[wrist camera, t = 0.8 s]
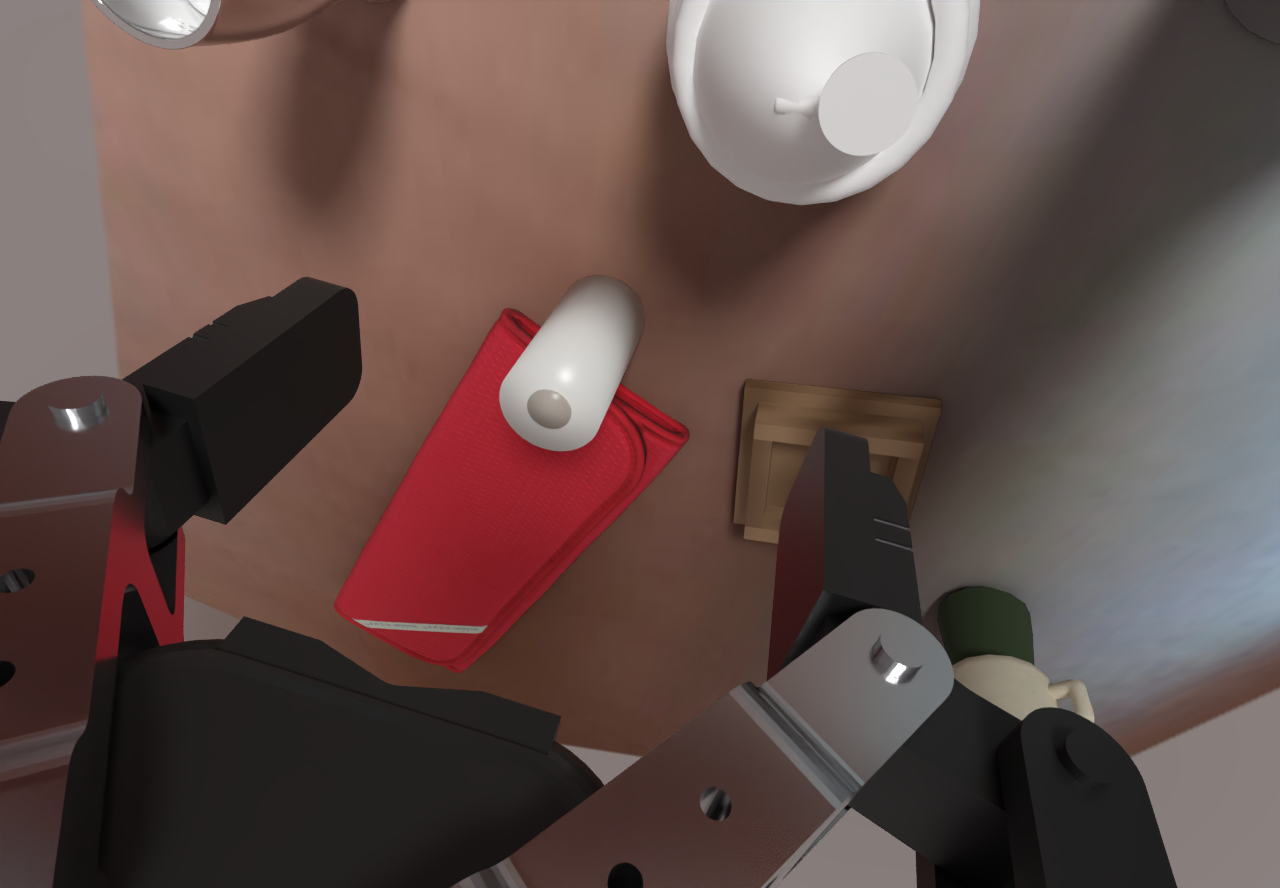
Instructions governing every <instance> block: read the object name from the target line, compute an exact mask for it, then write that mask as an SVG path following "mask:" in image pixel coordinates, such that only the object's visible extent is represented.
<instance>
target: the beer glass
mask: <svg viewBox="0 0 1280 888" xmlns="http://www.w3.org/2000/svg"><path fill="white" fill-rule="evenodd" d="M91 1H92V2H93V3H94V5H95V6H96V7H97V8H98V9H99V10H100V11H101V12H102V13H103V14H104V15H105V16H106V17H107V18H108V19H109V20H111V21H112V22H113V23H114V24H115V25H117V26H118V27H119V28H121V29H122V30H123V31H125V32H126V33H128V34H129V35H131V36H132V37H134V38H136V39H138V40H140V41H142V42H144V43H146V44H149V45H152V46H155V47H158V48H163V49H173V50H175V49H184V48H188V47H195V46H211V45H222V44H233V43H240V42H246V41H252V40H258V39H262V38H266V37H269V36H273V35H277V34H280V33H283V32H286V31H288V30H290V29H293V28H295V27H297V26H299V25H301V24H303V23H305V22H307V21H309V20H311V19H312V18H314V17H316V16H317V15H319V14H321V13H322V12H324V11H325V10H327V9H329V8H330V7H332V6H333V5H335V4H337V3H338V2H340V1H342V0H91ZM366 1H371V2H385V1H389V0H366Z"/></svg>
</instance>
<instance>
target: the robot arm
mask: <svg viewBox="0 0 1280 888" xmlns="http://www.w3.org/2000/svg"><path fill="white" fill-rule="evenodd" d="M1225 1H1226V3H1227V5H1228V7H1229V10H1230V12H1231V13H1232V15H1233V16H1234V17H1235V18H1236V19H1237V20H1238V21H1239V22H1240V23H1241V24H1242V25H1243V26H1244V27H1245V28H1246V29H1247V30H1249V31H1251V32H1253V33H1254V34H1256V35H1258V36H1260V37H1262V38H1264V39H1265V40H1269V41H1272V42H1275V43H1278V44H1280V0H1225ZM361 375H362V358H361V343H360V328H359V313H358V301H357V297H356V295H355V293H354V292H353V291H352V290H351V289H349V288H345V287H342V286H338V285H335V284H331V283H328V282H324V281H321V280H317V279H314V278H310V277H303V278H301V279H299V280H297V281H296V282H294V283H293V284H291V285H290V286H288V287H287V288H285V289H284V290H282V291H281V292H279V293H278V294H276V295H275V296H273V297H270V296H268V297H264V298H261V299H258V300H255V301H251V302H248V303H245V304H242V305H238V306H236V307H234V308H233V309H231V310H230V311H228V312H227V313H225V314H223V315H222V316H220V317H219V318H217V319H216V320H214V321H213V324H212V325H209V324H208V325H206V326H205V327H203V328H202V329H200V330H199V331H197V332H195V333H194V334H193V338H190V337H188V338H186V339H185V340H183V341H181V342H180V343H178V344H177V345H175V346H174V347H172V348H170V349H169V350H167V351H166V352H164V353H163V354H161V355H160V356H158V357H156V358H155V359H153V360H152V361H150V362H149V363H147V364H146V365H144V366H142V367H141V368H139V369H138V370H136V371H135V372H133V373H132V374H130V375H128V376H127V377H125V378H124V379H122V380H120V379H116V378H112V377H105V376H80V377H72V378H66V379H62V380H58V381H54V382H51V383H48V384H45V385H43V386H40V387H38V388H36V389H33V390H31V391H30V392H28V393H27V394H25V395H23V396H22V397H21V398H20V399H19V400H17V402H7V401H0V888H777V887H778V886H779V885H780V884H781V883H782V882H783V881H784V880H785V879H786V878H787V877H788V876H789V874H791V872H792V871H793V870H794V869H795V868H796V867H797V866H798V865H799V864H800V863H801V862H802V861H803V859H805V858H806V857H807V856H808V854H809V853H810V852H811V851H812V850H813V849H814V848H815V847H816V846H817V845H818V844H819V843H820V842H821V841H822V840H823V839H824V837H825V836H826V835H827V834H828V833H829V832H830V831H831V830H832V829H833V828H834V827H835V826H836V825H837V824H838V823H839V822H840V821H841V820H842V818H843V817H844V816H845V815H846V814H847V813H848V812H849V811H850V810H851V809H852V808H853V809H855V810H856V811H857V812H859V813H860V814H862V815H863V816H865V817H866V818H868V819H869V820H871V821H872V822H873V823H875V824H876V825H878V826H879V827H881V828H882V829H884V830H885V831H887V832H888V833H890V834H891V835H893V836H894V837H896V838H897V839H898V840H900V841H901V842H903V843H904V844H906V845H907V846H909V847H910V848H912V849H913V850H915V851H916V874H917V888H1177V885H1176V882H1175V879H1174V876H1173V873H1172V869H1171V866H1170V863H1169V860H1168V856H1167V853H1166V850H1165V847H1164V844H1163V840H1162V837H1161V834H1160V831H1159V827H1158V824H1157V821H1156V818H1155V815H1154V812H1153V808H1152V805H1151V802H1150V799H1149V795H1148V792H1147V789H1146V786H1145V783H1144V781H1143V778H1142V776H1141V774H1140V772H1139V770H1138V769H1137V767H1136V765H1135V764H1134V762H1133V761H1132V759H1131V758H1130V756H1129V755H1128V754H1127V753H1126V751H1125V750H1124V749H1123V748H1122V747H1121V746H1120V745H1119V744H1118V743H1117V742H1116V741H1115V740H1114V739H1113V738H1112V737H1111V736H1110V735H1109V734H1108V733H1106V732H1105V731H1104V730H1103V729H1102V728H1100V727H1099V726H1097V725H1096V724H1094V723H1093V722H1091V721H1090V720H1088V719H1086V718H1084V717H1082V716H1081V715H1078V714H1076V713H1074V712H1071V711H1068V710H1064V709H1061V708H1054V707H1044V708H1039V709H1036V710H1034V711H1032V712H1031V713H1029V714H1028V715H1027V716H1026V717H1025V718H1024V719H1023V720H1020V719H1018V718H1016V717H1015V716H1013V715H1011V714H1010V713H1008V712H1006V711H1004V710H1003V709H1001V708H999V707H998V706H996V705H994V704H993V703H991V702H989V701H987V700H986V699H984V698H982V697H981V696H979V695H977V694H976V693H974V692H973V691H971V690H969V689H968V688H966V687H965V686H964V685H962V684H961V683H960V682H959V681H957V680H956V679H955V678H954V673H953V668H952V664H951V661H950V659H949V657H948V655H947V653H946V651H945V650H944V648H943V647H942V645H941V644H940V643H939V642H938V640H937V639H936V638H935V637H934V636H933V635H932V634H931V633H930V632H929V631H928V630H927V629H925V628H924V627H923V624H922V617H921V609H920V602H919V594H918V587H917V579H916V572H915V564H914V557H913V552H911V549H912V542H911V534H910V532H909V531H908V530H909V519H908V512H907V504H906V501H905V500H904V498H903V497H902V495H901V493H900V492H899V490H898V489H897V487H896V485H895V484H894V482H893V481H892V479H891V478H890V477H887V476H883V475H880V474H876V473H873V472H871V469H870V456H869V444H868V440H867V439H866V438H863V437H859V436H856V435H852V434H849V433H845V432H842V431H838V430H835V429H831V428H828V427H825V426H822V427H820V428H819V430H818V431H817V433H816V435H815V437H814V439H813V442H812V444H811V446H810V448H809V450H808V453H807V455H806V457H805V459H804V462H803V464H802V466H801V468H800V471H799V473H798V475H797V477H796V480H795V482H794V484H793V486H792V488H791V491H790V493H789V495H788V498H787V501H786V504H785V507H784V510H783V514H782V518H781V523H780V529H779V539H778V551H777V563H776V576H775V588H774V600H773V612H772V624H771V636H770V648H769V660H768V672H767V682H765V683H764V684H763V685H761V686H759V687H757V688H756V687H755V685H754V684H753V683H751V682H746V683H743V684H741V685H739V686H738V687H736V688H734V689H733V690H732V691H730V692H729V693H727V694H726V695H725V696H723V697H722V698H721V699H719V700H718V701H717V702H715V703H714V704H713V705H711V706H710V707H709V708H707V709H706V710H705V711H703V712H702V713H701V714H699V715H698V716H697V717H695V718H694V719H693V720H691V721H690V722H689V723H687V724H686V725H685V726H683V727H682V728H681V729H679V730H678V731H677V732H675V733H674V734H673V735H671V736H670V737H669V738H667V739H666V740H665V741H663V742H662V743H661V744H659V745H658V746H656V747H655V748H654V749H652V750H651V751H650V752H648V753H647V754H646V755H644V756H643V757H642V758H640V759H639V760H638V761H636V762H635V763H634V764H632V765H631V766H630V767H628V768H627V769H626V770H624V771H623V772H622V773H620V774H619V775H618V776H616V777H615V778H614V779H613V780H611V781H610V782H608V783H607V784H606V785H604V784H603V783H602V782H601V780H600V779H599V778H598V777H597V776H596V775H595V774H594V772H593V771H592V770H591V769H590V768H589V767H588V766H587V765H586V764H585V763H584V762H583V761H582V760H580V759H579V758H578V757H577V756H576V755H574V754H573V753H572V752H571V751H569V750H568V749H566V748H565V747H563V746H562V745H561V744H559V743H557V742H556V736H557V732H558V728H559V723H560V719H561V716H558V715H555V714H552V713H549V712H546V711H543V710H539V709H536V708H533V707H530V706H527V705H524V704H520V703H517V702H514V701H511V700H508V699H505V698H501V697H498V696H495V695H492V694H489V693H486V692H482V691H469V690H454V689H439V688H423V687H408V686H396V685H391V684H388V683H386V682H384V681H382V680H380V679H379V678H377V677H376V676H374V675H373V674H371V673H370V672H368V671H367V670H365V669H364V668H362V667H361V666H359V665H357V664H356V663H354V662H353V661H351V660H350V659H348V658H347V657H345V656H344V655H342V654H341V653H339V652H338V651H336V650H334V649H333V648H331V647H330V646H328V645H327V644H325V643H324V642H322V641H321V640H318V639H314V638H311V637H308V636H305V635H302V634H299V633H295V632H292V631H289V630H286V629H283V628H280V627H276V626H273V625H270V624H267V623H264V622H261V621H257V620H254V619H251V618H248V617H245V616H244V617H243V618H242V619H241V621H240V622H239V623H238V624H237V625H236V627H235V628H234V629H233V630H232V631H231V632H230V634H229V635H228V636H227V637H226V638H225V639H224V640H223V639H211V640H193V641H186V642H184V635H183V619H184V574H185V535H184V532H183V529H182V525H183V524H184V523H185V522H186V521H187V520H189V519H190V518H191V517H192V516H193V515H196V516H199V517H202V518H206V519H209V520H212V521H215V522H219V523H222V524H225V525H226V524H227V523H228V522H229V521H230V520H231V519H232V518H233V517H234V516H235V515H236V514H237V513H238V512H239V511H240V510H241V509H242V508H243V507H244V506H245V505H246V504H247V503H248V502H249V501H250V500H251V499H252V498H253V497H254V496H255V495H256V494H257V493H258V492H259V491H260V490H261V489H262V488H263V487H264V486H265V485H267V484H268V483H269V482H270V481H271V480H272V479H273V478H274V477H275V476H276V475H277V474H278V473H279V472H280V471H281V470H282V469H283V468H284V467H285V466H286V465H287V464H288V463H289V462H290V461H291V460H292V459H293V458H294V457H295V456H296V455H297V454H298V453H299V452H300V451H301V450H302V449H303V448H304V447H305V446H306V445H307V444H308V443H309V442H310V441H311V440H312V439H313V438H314V437H315V436H316V435H317V434H318V433H319V432H320V431H321V430H322V429H323V428H324V427H325V426H326V425H327V424H328V423H329V422H330V421H331V420H332V419H333V418H334V417H335V416H336V415H337V414H338V413H339V412H340V411H341V410H342V409H343V408H344V407H345V406H346V405H347V404H348V403H349V402H350V401H351V400H352V398H353V397H354V395H355V393H356V391H357V389H358V386H359V384H360V380H361Z"/></svg>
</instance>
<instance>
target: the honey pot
mask: <svg viewBox="0 0 1280 888" xmlns="http://www.w3.org/2000/svg"><path fill="white" fill-rule="evenodd" d="M979 9H980V0H670V3H669V15H668V27H667V40H666V50H667V57H668V64H669V71H670V78H671V85H672V89H673V91H674V94H675V97H676V99H677V105H678V107H679V110H680V112H681V115H682V117H683V120H684V122H685V125H686V127H687V130H688V132H689V135H690V137H691V139H692V140H693V142H694V143H695V144H696V146H697V147H698V148H699V150H700V151H701V153H702V154H703V155H704V157H705V158H706V159H707V161H708V162H709V164H710V165H711V166H712V167H713V168H715V169H716V170H717V171H718V172H719V173H721V174H722V175H723V176H724V177H726V178H727V179H728V180H729V181H731V182H732V183H733V184H734V185H735V186H737V187H738V188H741V189H743V190H745V191H748V192H750V193H752V194H754V195H757V196H759V197H761V198H763V199H766V200H769V201H775V202H782V203H789V204H795V205H808V204H817V203H826V202H835V201H838V200H841V199H844V198H846V197H849V196H852V195H854V194H857V193H860V192H862V191H865V190H868V189H870V188H872V187H873V186H875V185H876V184H878V183H879V182H881V181H882V180H884V179H885V178H887V177H888V176H890V175H891V174H893V173H894V172H896V171H897V170H899V169H900V168H902V167H903V166H904V165H905V164H906V163H907V162H908V160H909V159H910V158H911V157H912V156H913V155H914V154H915V153H916V152H917V151H918V150H919V149H920V148H921V147H922V146H923V145H924V144H925V142H926V141H927V140H928V139H929V138H930V137H931V136H932V134H933V132H934V130H935V129H936V127H937V125H938V124H939V122H940V120H941V119H942V117H943V115H944V114H945V112H946V110H947V108H948V107H949V105H950V103H951V102H952V100H953V98H954V95H955V93H956V91H957V89H958V88H959V86H960V84H961V83H962V81H963V78H964V75H965V72H966V69H967V66H968V62H969V59H970V56H971V53H972V50H973V47H974V44H975V41H976V38H977V34H978V22H979Z"/></svg>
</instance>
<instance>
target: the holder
mask: <svg viewBox="0 0 1280 888" xmlns="http://www.w3.org/2000/svg"><path fill="white" fill-rule="evenodd" d="M941 410H942V407H941V401H940V400H939V399H930V398H920V397H911V396H902V395H892V394H883V393H874V392H864V391H855V390H846V389H836V388H827V387H818V386H808V385H799V384H790V383H780V382H771V381H762V380H752V379H746V383H745V389H744V401H743V414H742V426H741V438H740V450H739V462H738V474H737V486H736V498H735V510H734V522H733V523H737V524H744V525H745V531H744V539H750V540H756V541H763V542H769V543H776V544H778V539H779V529H780V523H781V518H782V514H783V510H784V507H785V504H786V501H787V498H788V495H789V493H790V491H791V488H792V486H793V484H794V482H795V480H796V477H797V475H798V473H799V471H800V468H801V466H802V464H803V462H804V459H805V457H806V455H807V453H808V450H809V448H810V446H811V444H812V442H813V439H814V437H815V435H816V433H817V431H818V430H819V428H820V427H822V426H825V427H828V428H831V429H835V430H838V431H842V432H845V433H849V434H852V435H856V436H859V437H863V438H866V439H867V440H868V444H869V456H870V469H871V472H873V473H876V474H880V475H883V476H887V477H890V478H891V479H892V481H893V482H894V484H895V485H896V487H897V489H898V490H899V492H900V493H901V495H902V497H903V498H904V500H905V501H906V504H907V512H908V519H909V520H910V517H911V513H912V510H913V506H914V503H915V499H916V496H917V493H918V489H919V486H920V482H921V479H922V475H923V472H924V468H925V465H926V461H927V458H928V455H929V451H930V448H931V444H932V441H933V437H934V434H935V430H936V427H937V424H938V420H939V417H940V413H941Z"/></svg>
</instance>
